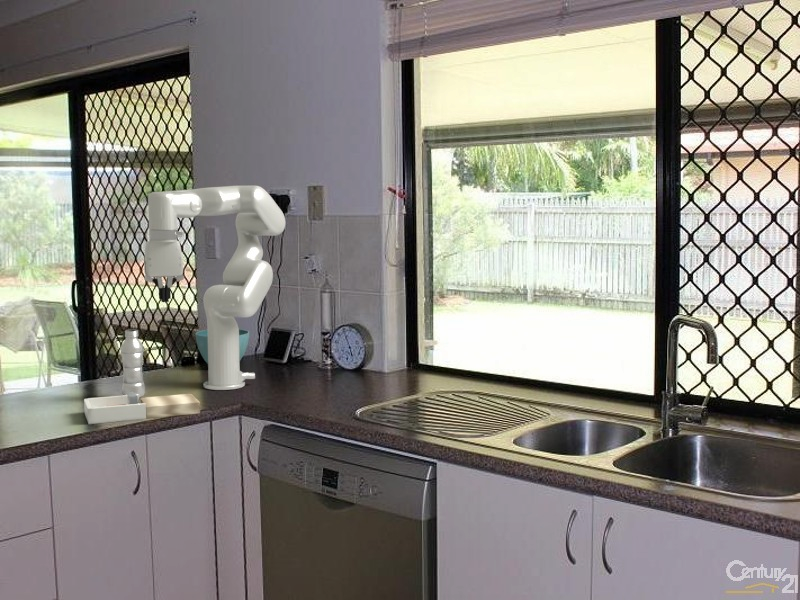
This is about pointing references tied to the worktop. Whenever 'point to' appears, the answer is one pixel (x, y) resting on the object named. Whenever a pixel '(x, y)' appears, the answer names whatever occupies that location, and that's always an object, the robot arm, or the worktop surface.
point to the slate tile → (132, 398)
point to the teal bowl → (203, 343)
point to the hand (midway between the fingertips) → (164, 301)
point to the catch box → (112, 409)
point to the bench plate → (171, 405)
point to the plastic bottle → (132, 364)
